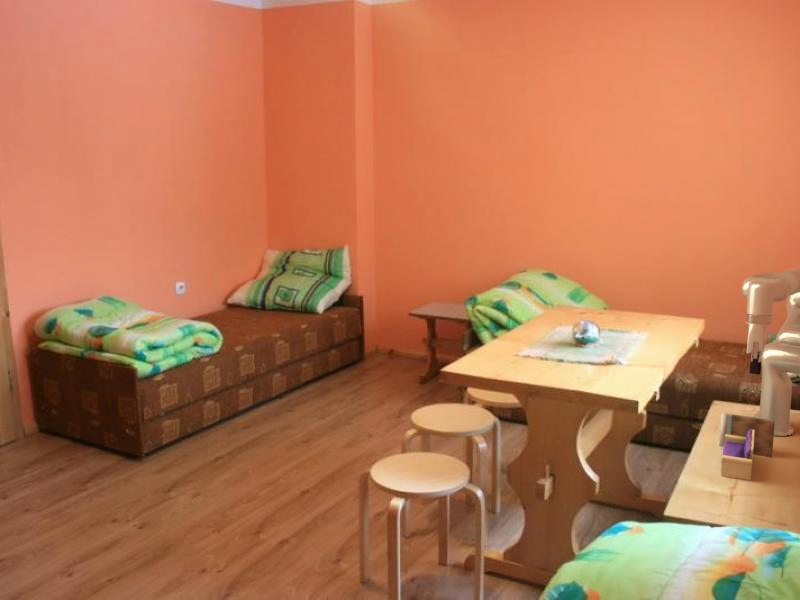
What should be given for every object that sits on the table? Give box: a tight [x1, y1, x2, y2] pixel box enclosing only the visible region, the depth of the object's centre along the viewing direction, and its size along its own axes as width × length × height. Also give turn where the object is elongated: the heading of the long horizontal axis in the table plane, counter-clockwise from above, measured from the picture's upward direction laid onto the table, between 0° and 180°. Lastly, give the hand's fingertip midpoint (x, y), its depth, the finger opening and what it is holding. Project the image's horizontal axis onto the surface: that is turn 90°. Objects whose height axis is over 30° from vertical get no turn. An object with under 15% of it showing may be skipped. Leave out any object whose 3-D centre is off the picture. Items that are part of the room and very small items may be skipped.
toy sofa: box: [720, 429, 755, 481], centre depth 224 cm, size 21×9×10 cm, turn 153°
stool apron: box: [731, 414, 775, 458], centre depth 233 cm, size 12×2×12 cm, turn 60°
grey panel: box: [719, 412, 771, 447], centre depth 237 cm, size 2×15×11 cm, turn 59°
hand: (755, 373), depth 237 cm, fingers closed
